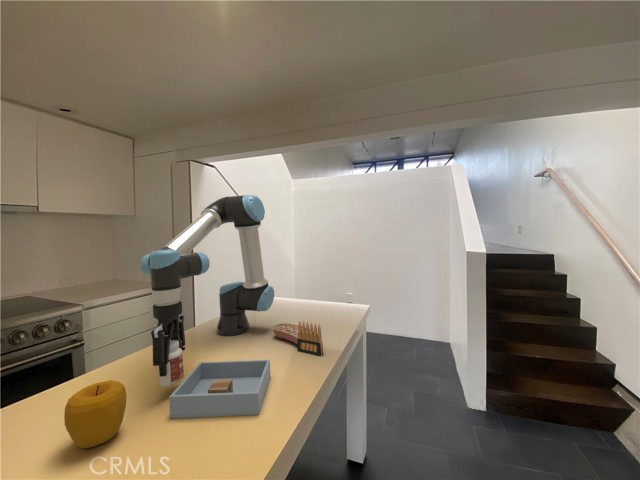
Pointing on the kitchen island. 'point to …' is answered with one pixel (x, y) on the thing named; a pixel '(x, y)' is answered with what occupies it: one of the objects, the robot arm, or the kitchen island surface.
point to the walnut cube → (221, 386)
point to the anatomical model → (287, 332)
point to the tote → (243, 400)
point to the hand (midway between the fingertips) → (172, 378)
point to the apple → (95, 413)
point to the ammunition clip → (309, 339)
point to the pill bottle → (175, 361)
